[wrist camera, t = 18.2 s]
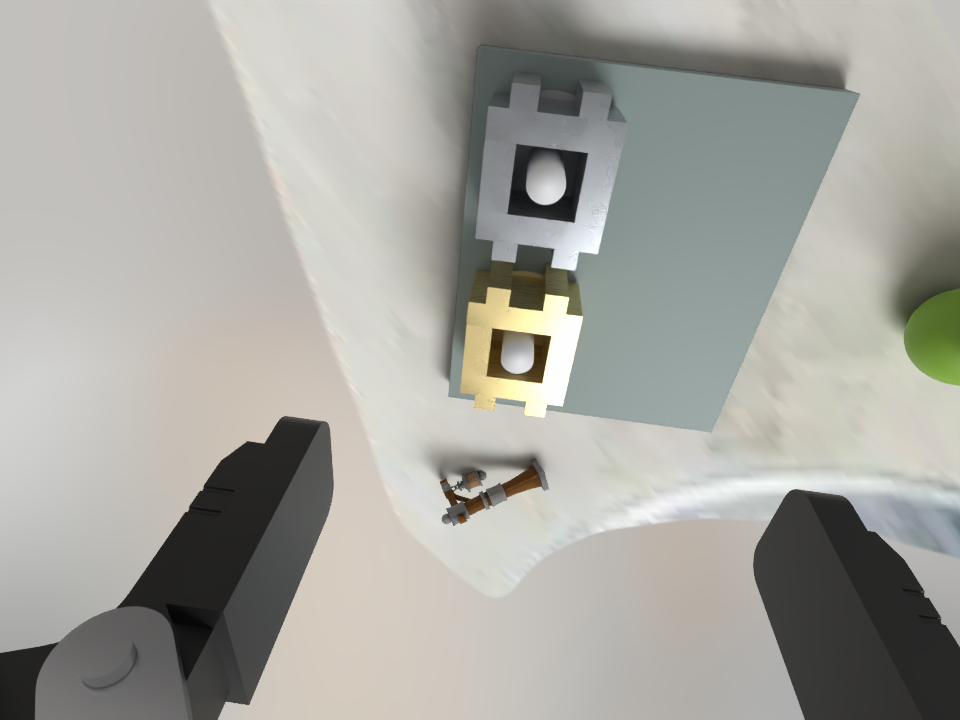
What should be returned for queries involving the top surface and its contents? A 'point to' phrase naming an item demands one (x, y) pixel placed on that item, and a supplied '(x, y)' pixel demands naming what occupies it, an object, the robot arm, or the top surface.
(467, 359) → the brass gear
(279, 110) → the top surface
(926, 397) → the top surface
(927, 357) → the snail figurine
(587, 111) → the grey hollow block
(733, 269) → the gear board
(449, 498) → the brown grey angled piece
